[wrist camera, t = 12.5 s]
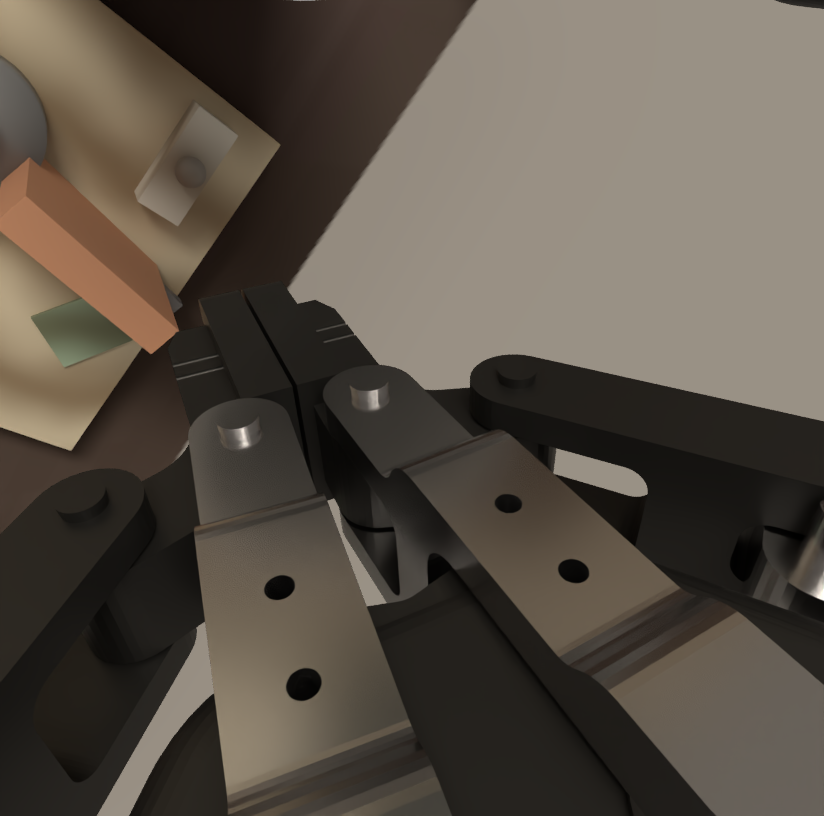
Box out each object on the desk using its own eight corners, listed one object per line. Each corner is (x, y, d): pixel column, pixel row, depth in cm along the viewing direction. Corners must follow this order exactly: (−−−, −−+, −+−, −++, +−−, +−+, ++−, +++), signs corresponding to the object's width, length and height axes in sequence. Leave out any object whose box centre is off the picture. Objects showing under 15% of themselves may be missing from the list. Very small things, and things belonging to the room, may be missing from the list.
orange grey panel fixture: (-207, 52, 28) (-288, 85, 21) (-95, -47, 28) (-141, -45, 21) (135, 334, 40) (152, 411, 34) (214, 268, 40) (247, 331, 34)
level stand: (-62, -128, 28) (-81, -141, 24) (274, 139, 40) (300, 161, 36) (-286, 308, 33) (-335, 360, 29) (73, 435, 45) (75, 485, 41)
